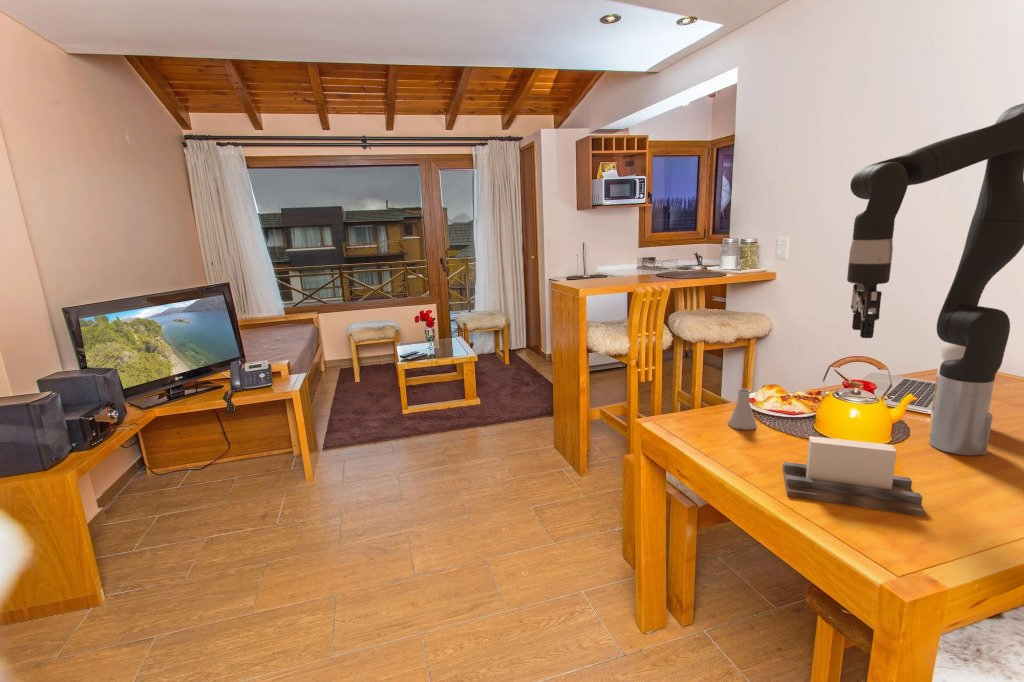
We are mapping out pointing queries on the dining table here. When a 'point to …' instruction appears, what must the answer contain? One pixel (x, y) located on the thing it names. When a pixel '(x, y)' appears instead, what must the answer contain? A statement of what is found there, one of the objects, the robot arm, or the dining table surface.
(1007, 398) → the dining table surface
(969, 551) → the dining table surface
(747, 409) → the flask
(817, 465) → the panel
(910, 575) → the dining table surface
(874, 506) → the track
